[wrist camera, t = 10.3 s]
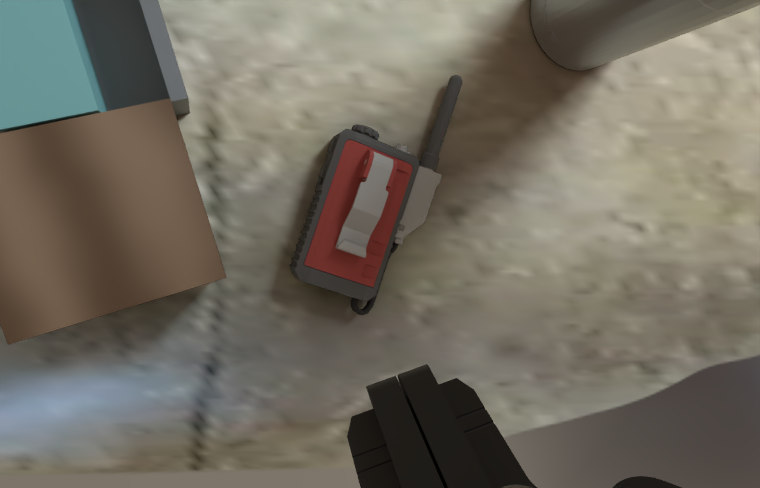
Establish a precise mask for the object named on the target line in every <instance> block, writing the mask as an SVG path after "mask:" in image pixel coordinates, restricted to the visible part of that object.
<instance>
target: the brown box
mask: <svg viewBox="0 0 760 488" xmlns="http://www.w3.org/2000/svg"><path fill="white" fill-rule="evenodd" d="M223 278H226V275H225V271H224V268H223V265H222V262H221V259H220V255H219V252H218V249H217V246H216V243H215V239H214V236H213V233H212V230H211V227H210V223H209V220H208V217H207V214H206V211H205V208H204V204H203V201H202V198H201V195H200V192H199V188H198V185H197V182H196V179H195V176H194V172H193V169H192V166H191V163H190V160H189V156H188V153H187V150H186V147H185V144H184V141H183V137H182V134H181V131H180V128H179V125H178V121H177V118H176V115H175V112H174V109H173V105H172V102H171V99H170V98H169V99H164V100H159V101H154V102H149V103H145V104H140V105H135V106H130V107H125V108H120V109H116V110H111V111H106V112H101V113H96V114H92V115H87V116H82V117H77V118H72V119H67V120H63V121H58V122H53V123H48V124H43V125H39V126H34V127H29V128H24V129H19V130H14V131H10V132H5V133H0V325H1V327H2V330H3V333H4V335H5V338H6V341H7V343H8V344H12V343H15V342H18V341H21V340H25V339H28V338H31V337H34V336H38V335H41V334H44V333H47V332H51V331H54V330H57V329H60V328H64V327H67V326H70V325H74V324H77V323H80V322H83V321H87V320H90V319H93V318H96V317H100V316H103V315H106V314H109V313H113V312H116V311H119V310H122V309H126V308H129V307H132V306H135V305H139V304H142V303H145V302H148V301H152V300H155V299H158V298H161V297H165V296H168V295H171V294H174V293H178V292H181V291H184V290H188V289H191V288H194V287H197V286H201V285H204V284H207V283H210V282H214V281H217V280H220V279H223Z"/></svg>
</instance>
